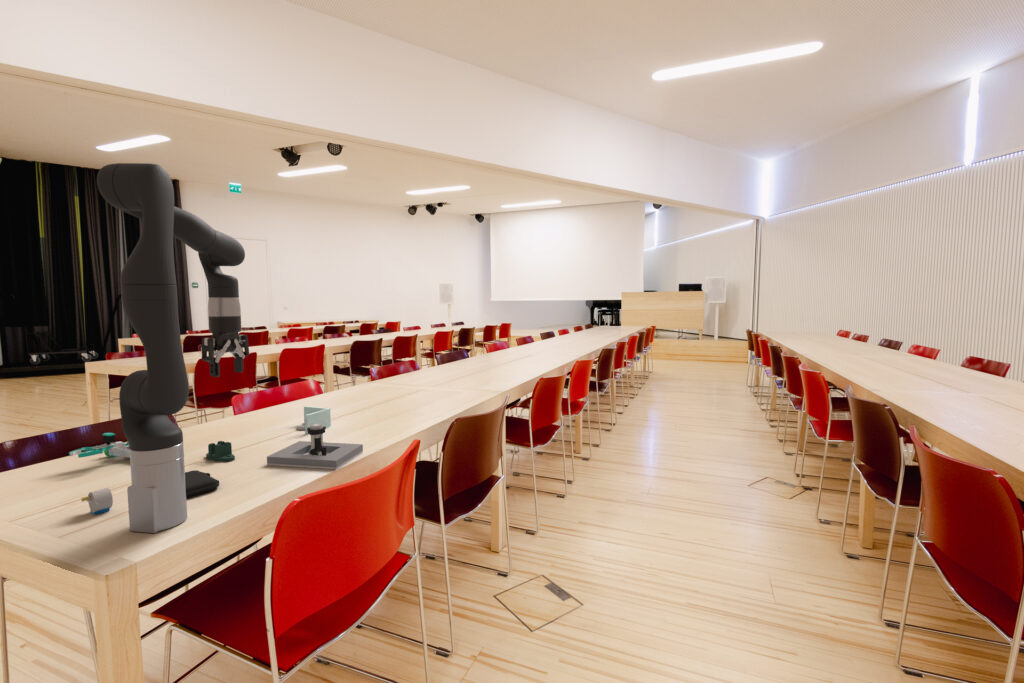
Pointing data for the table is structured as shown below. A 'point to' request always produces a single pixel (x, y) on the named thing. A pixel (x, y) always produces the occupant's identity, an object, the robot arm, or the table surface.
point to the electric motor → (99, 501)
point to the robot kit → (105, 448)
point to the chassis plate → (299, 455)
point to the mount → (220, 452)
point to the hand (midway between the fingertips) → (227, 374)
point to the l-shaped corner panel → (315, 417)
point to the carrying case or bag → (199, 483)
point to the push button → (317, 439)
